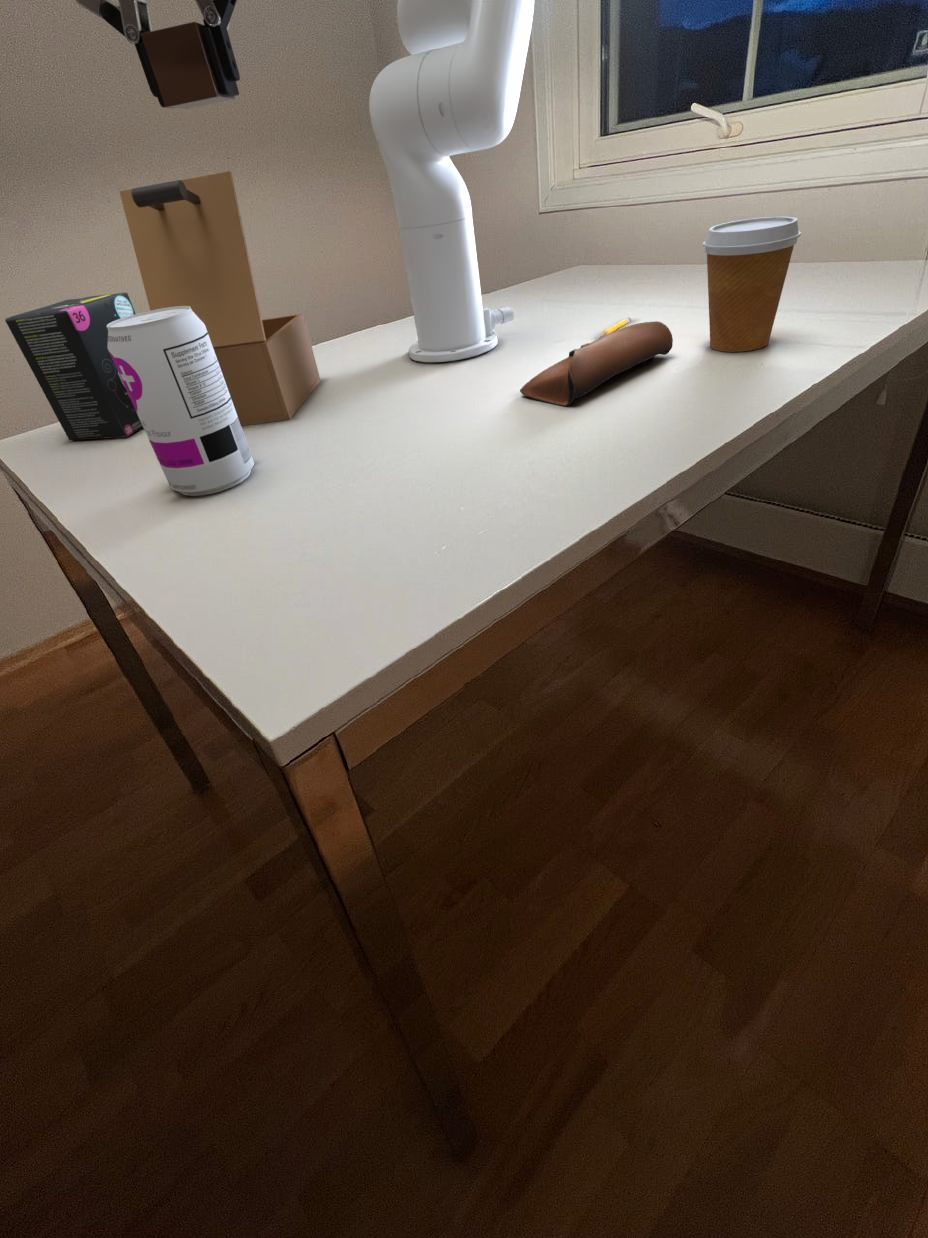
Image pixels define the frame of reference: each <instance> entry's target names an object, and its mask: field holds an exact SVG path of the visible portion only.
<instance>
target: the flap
mask: <svg viewBox="0 0 928 1238" xmlns="http://www.w3.org/2000/svg"><path fill="white" fill-rule="evenodd" d="M236 192H237V191H236V188H235V183H234V177H233V173H232V172H231V171H230V170H227V171H223V172H216V173H211V174H206V175H201V176H194V177H189V178H183V179H178V180H172V181H167V182H161V183H155V184H149V185H144V186H139V187H134V188H129V189H123V190H119V196H120V200H121V203H122V207H123V211H124V214H125V218H126V222H127V226H128V230H129V234H130V238H131V242H132V246H133V249H134V253H135V257H136V261H137V265H138V268H139V269H138V270H139V273H140V276H141V280H142V284H143V288H144V292H145V296H146V299H147V303H148V307H149V311H152V310H157V309H162V308H169V307H177V306H190V307H191V310H192V311H193V312H194V313H195V315H196V316H197V317H198V318H199V319H200V320H201V321H202V322H203V323H204V324H205V327H206V329H207V332H208V335H209V338H210V341H211V343H212V346H213V348H217V347H224V346H231V345H238V344H245V343H252V342H259V341H266V337H265V332H264V328H263V323H262V319H263V318H262V313H261V309H260V303H259V299H258V295H257V290H256V284H255V280H254V275H253V269H252V264H251V260H250V255H249V250H248V246H247V241H246V236H245V232H244V226H243V221H242V216H241V211H240V207H239V203H238V197H237V193H236Z"/></svg>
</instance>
